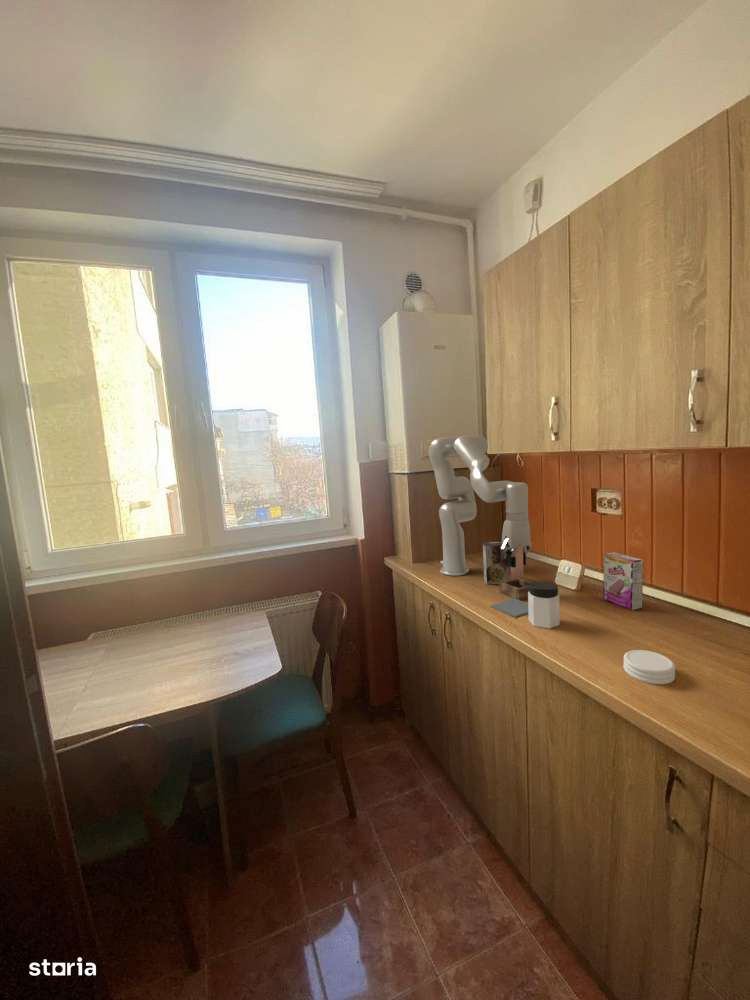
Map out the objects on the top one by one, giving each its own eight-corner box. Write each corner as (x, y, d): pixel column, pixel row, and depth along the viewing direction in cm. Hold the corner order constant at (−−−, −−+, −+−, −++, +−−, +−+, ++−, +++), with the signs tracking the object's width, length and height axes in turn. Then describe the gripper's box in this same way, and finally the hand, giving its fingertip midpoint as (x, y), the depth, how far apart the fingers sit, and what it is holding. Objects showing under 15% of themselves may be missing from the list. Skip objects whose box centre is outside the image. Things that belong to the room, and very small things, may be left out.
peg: (508, 577, 150) (507, 543, 148) (516, 574, 152) (516, 541, 150) (516, 580, 146) (516, 545, 144) (525, 578, 148) (525, 543, 146)
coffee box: (506, 579, 166) (505, 540, 164) (509, 584, 160) (508, 544, 158) (483, 579, 167) (482, 541, 165) (486, 584, 161) (485, 545, 159)
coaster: (644, 688, 89) (644, 673, 89) (614, 664, 99) (614, 651, 99) (686, 683, 90) (686, 668, 90) (652, 660, 100) (652, 647, 99)
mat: (490, 606, 139) (490, 605, 139) (514, 600, 143) (514, 598, 143) (514, 617, 129) (514, 615, 129) (539, 609, 133) (539, 608, 133)
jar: (563, 628, 119) (563, 589, 118) (535, 629, 120) (535, 590, 118) (551, 616, 128) (551, 579, 127) (525, 617, 129) (525, 581, 127)
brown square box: (499, 592, 151) (499, 582, 151) (518, 587, 155) (518, 577, 155) (518, 600, 143) (518, 589, 142) (538, 595, 147) (537, 584, 146)
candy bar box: (602, 599, 139) (602, 553, 137) (613, 597, 140) (613, 551, 138) (631, 611, 128) (632, 561, 126) (643, 608, 130) (644, 559, 128)
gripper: (525, 512, 152) (525, 559, 155) (491, 518, 145) (492, 566, 148) (541, 515, 146) (541, 563, 148) (506, 521, 139) (507, 572, 141)
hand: (516, 564), depth 148 cm, fingers closed on peg, 4 cm apart
